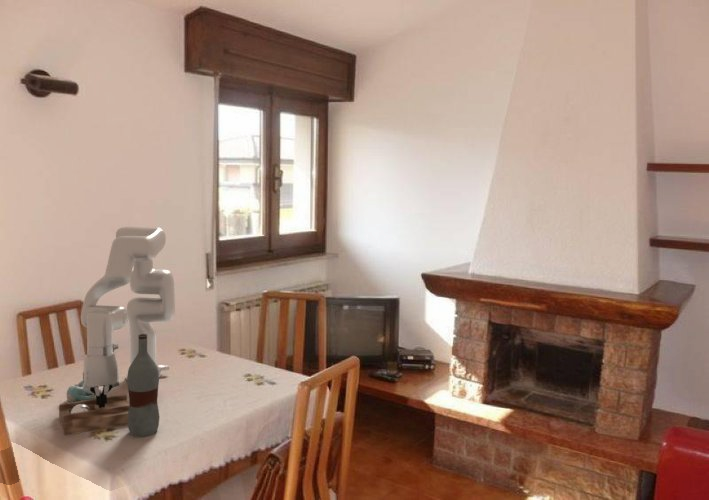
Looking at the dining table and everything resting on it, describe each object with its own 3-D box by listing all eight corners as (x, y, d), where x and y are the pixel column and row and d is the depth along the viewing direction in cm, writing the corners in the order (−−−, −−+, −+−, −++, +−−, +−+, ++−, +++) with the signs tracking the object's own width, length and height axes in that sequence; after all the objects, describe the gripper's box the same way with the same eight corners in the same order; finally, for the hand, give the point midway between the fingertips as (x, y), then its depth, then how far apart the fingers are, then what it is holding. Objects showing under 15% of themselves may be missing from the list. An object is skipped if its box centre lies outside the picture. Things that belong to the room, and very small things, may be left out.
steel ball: (68, 402, 184) (65, 419, 185) (76, 410, 181) (73, 428, 181) (87, 399, 189) (84, 416, 190) (96, 407, 185) (92, 425, 186)
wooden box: (124, 406, 200) (124, 391, 200) (134, 422, 187) (134, 407, 186) (59, 416, 190) (58, 401, 189) (64, 435, 176) (64, 419, 176)
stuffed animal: (110, 382, 208) (79, 384, 198) (107, 402, 208) (75, 406, 198) (92, 376, 214) (60, 378, 204) (89, 396, 214) (57, 399, 204)
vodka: (160, 435, 178) (159, 337, 175) (127, 439, 175) (126, 339, 171) (158, 423, 187) (158, 330, 183) (127, 427, 183) (126, 332, 180)
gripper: (123, 344, 194) (124, 398, 196) (72, 349, 186) (74, 406, 188) (127, 350, 187) (128, 406, 189) (75, 356, 180) (77, 414, 182)
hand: (101, 406), depth 189 cm, fingers closed
